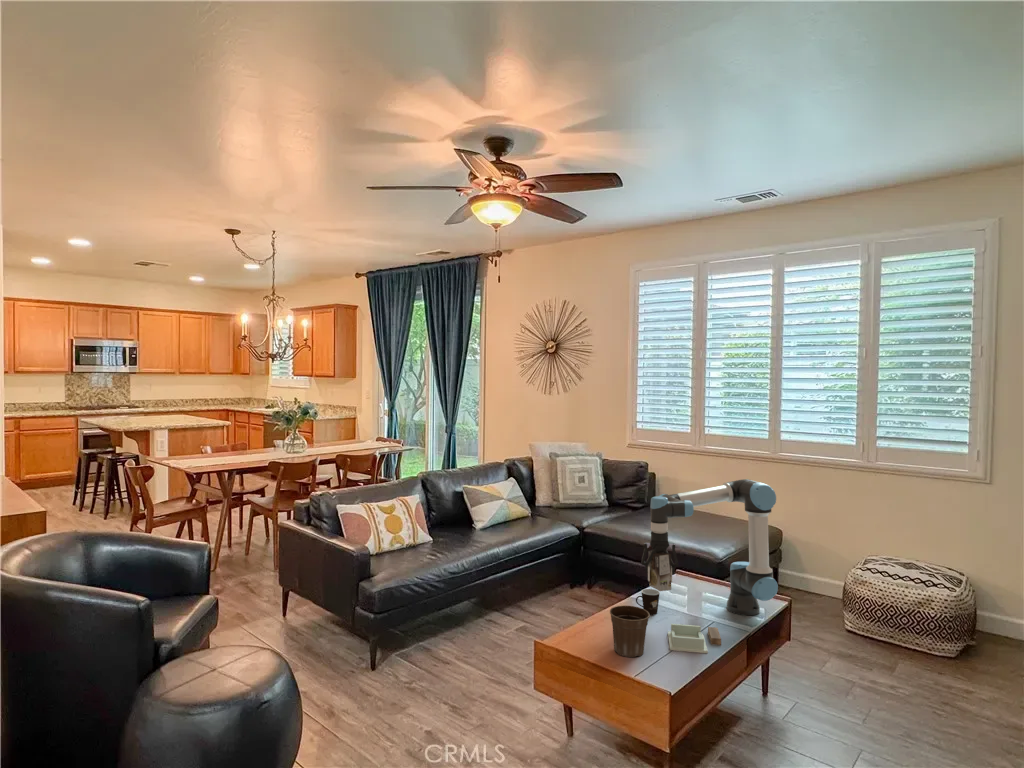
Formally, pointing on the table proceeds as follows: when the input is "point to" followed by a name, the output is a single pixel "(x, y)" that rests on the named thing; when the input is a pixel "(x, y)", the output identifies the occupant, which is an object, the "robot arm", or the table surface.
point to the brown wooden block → (714, 635)
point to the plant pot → (629, 630)
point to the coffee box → (660, 571)
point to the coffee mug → (650, 600)
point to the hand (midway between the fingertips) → (659, 580)
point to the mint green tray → (687, 638)
